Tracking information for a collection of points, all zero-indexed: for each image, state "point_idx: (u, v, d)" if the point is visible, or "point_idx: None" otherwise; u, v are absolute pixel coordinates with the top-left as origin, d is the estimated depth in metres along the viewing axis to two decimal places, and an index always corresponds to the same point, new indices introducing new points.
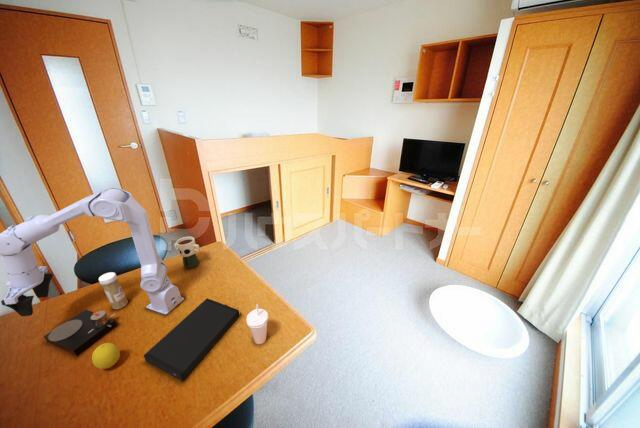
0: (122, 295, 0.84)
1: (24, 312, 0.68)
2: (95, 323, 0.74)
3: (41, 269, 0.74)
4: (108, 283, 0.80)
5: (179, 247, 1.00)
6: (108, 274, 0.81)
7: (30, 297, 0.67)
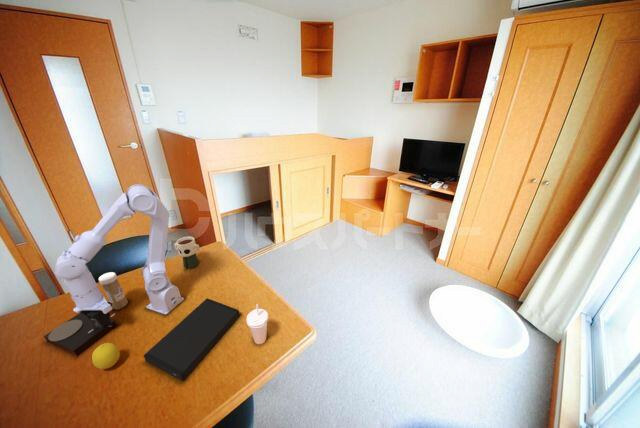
0: (122, 295, 0.84)
1: (105, 321, 0.75)
2: (95, 323, 0.74)
3: None
4: (108, 283, 0.80)
5: (179, 247, 1.00)
6: (108, 274, 0.81)
7: (108, 303, 0.74)
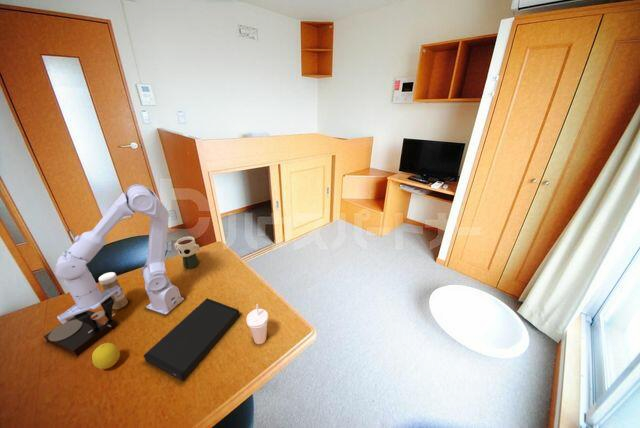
0: (122, 295, 0.84)
1: None
2: (104, 319, 0.75)
3: None
4: (108, 283, 0.80)
5: (179, 247, 1.00)
6: (108, 274, 0.81)
7: None
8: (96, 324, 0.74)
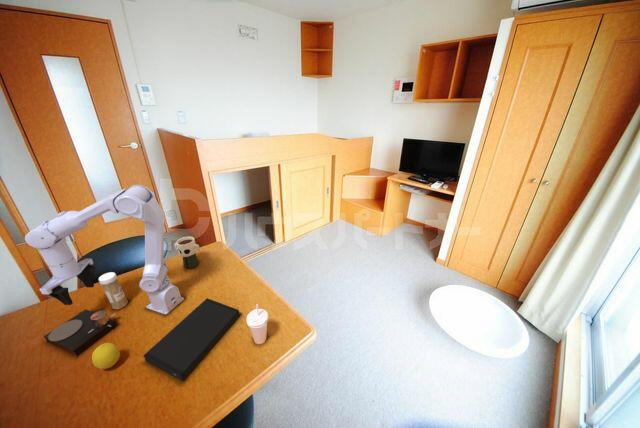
0: (122, 295, 0.84)
1: (64, 301, 0.73)
2: (104, 319, 0.75)
3: (86, 261, 0.79)
4: (108, 283, 0.80)
5: (179, 247, 1.00)
6: (108, 274, 0.81)
7: (63, 289, 0.70)
8: (96, 324, 0.74)
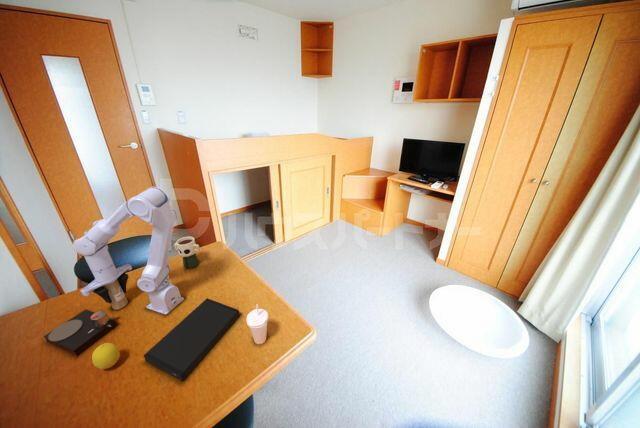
0: (122, 295, 0.84)
1: (106, 299, 0.81)
2: (104, 319, 0.75)
3: (126, 267, 0.86)
4: (108, 283, 0.80)
5: (179, 247, 1.00)
6: None
7: (104, 290, 0.78)
8: (96, 324, 0.74)
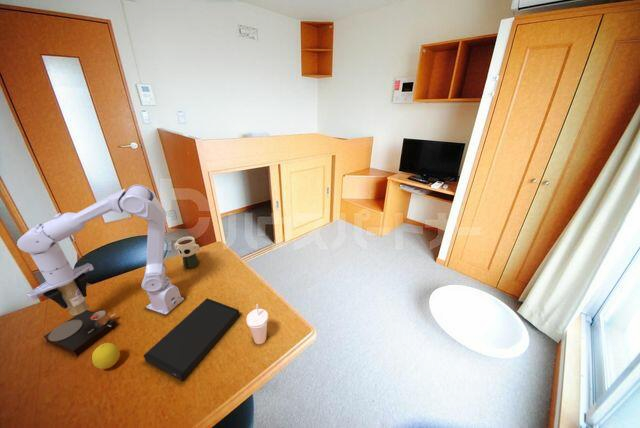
0: (80, 299, 0.74)
1: (60, 304, 0.71)
2: (104, 319, 0.75)
3: (86, 267, 0.75)
4: (62, 285, 0.69)
5: (179, 247, 1.00)
6: None
7: (55, 293, 0.68)
8: (96, 324, 0.74)
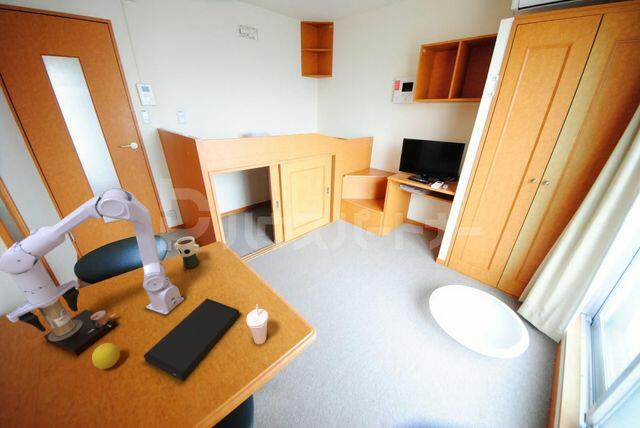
0: (66, 319, 0.72)
1: (37, 327, 0.67)
2: (104, 319, 0.75)
3: (71, 284, 0.73)
4: (45, 306, 0.67)
5: (179, 247, 1.00)
6: None
7: (31, 317, 0.64)
8: (96, 324, 0.74)
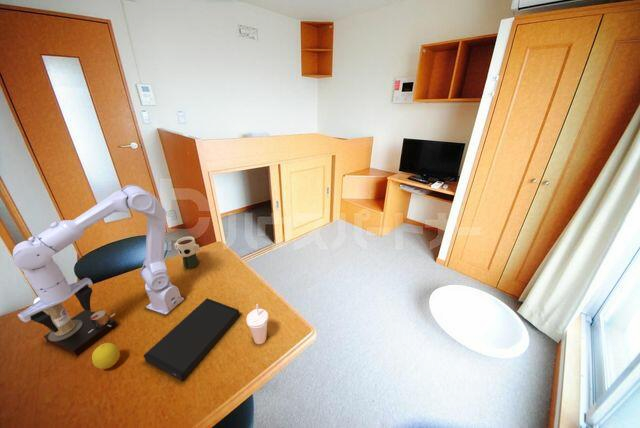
0: (66, 319, 0.72)
1: (50, 328, 0.64)
2: (104, 319, 0.75)
3: (84, 282, 0.69)
4: None
5: (179, 247, 1.00)
6: None
7: (44, 317, 0.60)
8: (96, 324, 0.74)
